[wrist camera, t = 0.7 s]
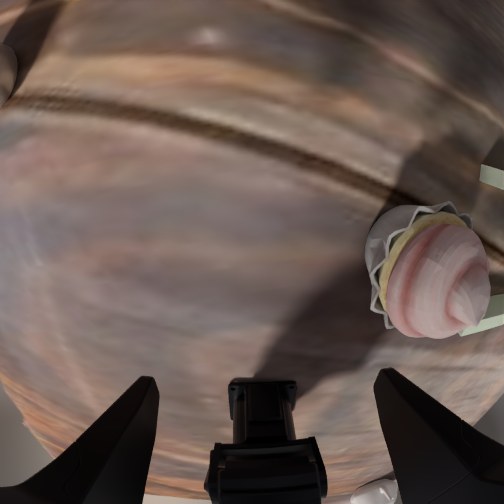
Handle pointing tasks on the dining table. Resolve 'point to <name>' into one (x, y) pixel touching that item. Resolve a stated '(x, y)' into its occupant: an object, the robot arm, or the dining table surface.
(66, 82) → the dining table surface
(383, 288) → the cupcake
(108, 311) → the dining table surface
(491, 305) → the pocket
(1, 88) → the plastic bottle
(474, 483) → the robot arm
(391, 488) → the teapot
